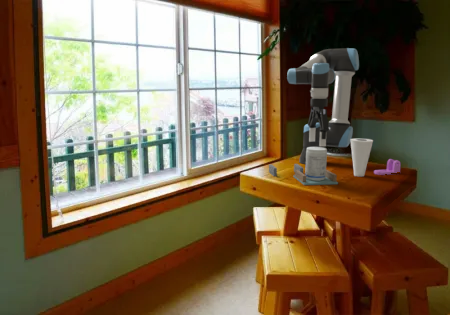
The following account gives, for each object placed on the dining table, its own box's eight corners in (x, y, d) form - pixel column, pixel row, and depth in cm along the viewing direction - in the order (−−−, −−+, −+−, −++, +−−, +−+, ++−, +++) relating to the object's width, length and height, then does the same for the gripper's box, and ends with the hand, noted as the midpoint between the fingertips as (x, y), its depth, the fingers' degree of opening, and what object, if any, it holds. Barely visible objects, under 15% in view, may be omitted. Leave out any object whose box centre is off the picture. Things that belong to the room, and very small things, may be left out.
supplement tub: (305, 175, 191) (307, 146, 188) (325, 177, 188) (327, 147, 186) (303, 180, 182) (305, 149, 179) (324, 182, 179) (326, 150, 176)
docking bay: (324, 176, 194) (325, 168, 194) (337, 184, 179) (338, 176, 178) (293, 176, 192) (293, 169, 191) (304, 185, 177) (304, 176, 176)
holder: (296, 171, 205) (297, 163, 204) (303, 175, 195) (303, 167, 194) (268, 171, 203) (269, 164, 202) (273, 176, 193) (273, 168, 192)
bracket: (392, 171, 207) (393, 158, 206) (399, 173, 202) (401, 160, 201) (371, 172, 203) (372, 159, 202) (378, 175, 198) (379, 161, 197)
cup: (359, 178, 190) (362, 141, 186) (343, 174, 199) (345, 139, 196) (375, 176, 194) (377, 140, 191) (358, 172, 204) (361, 138, 200)
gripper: (302, 96, 190) (300, 139, 194) (321, 99, 166) (319, 148, 170) (317, 96, 191) (315, 139, 195) (338, 99, 167) (335, 148, 171)
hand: (317, 143), depth 183 cm, fingers open, 13 cm apart
